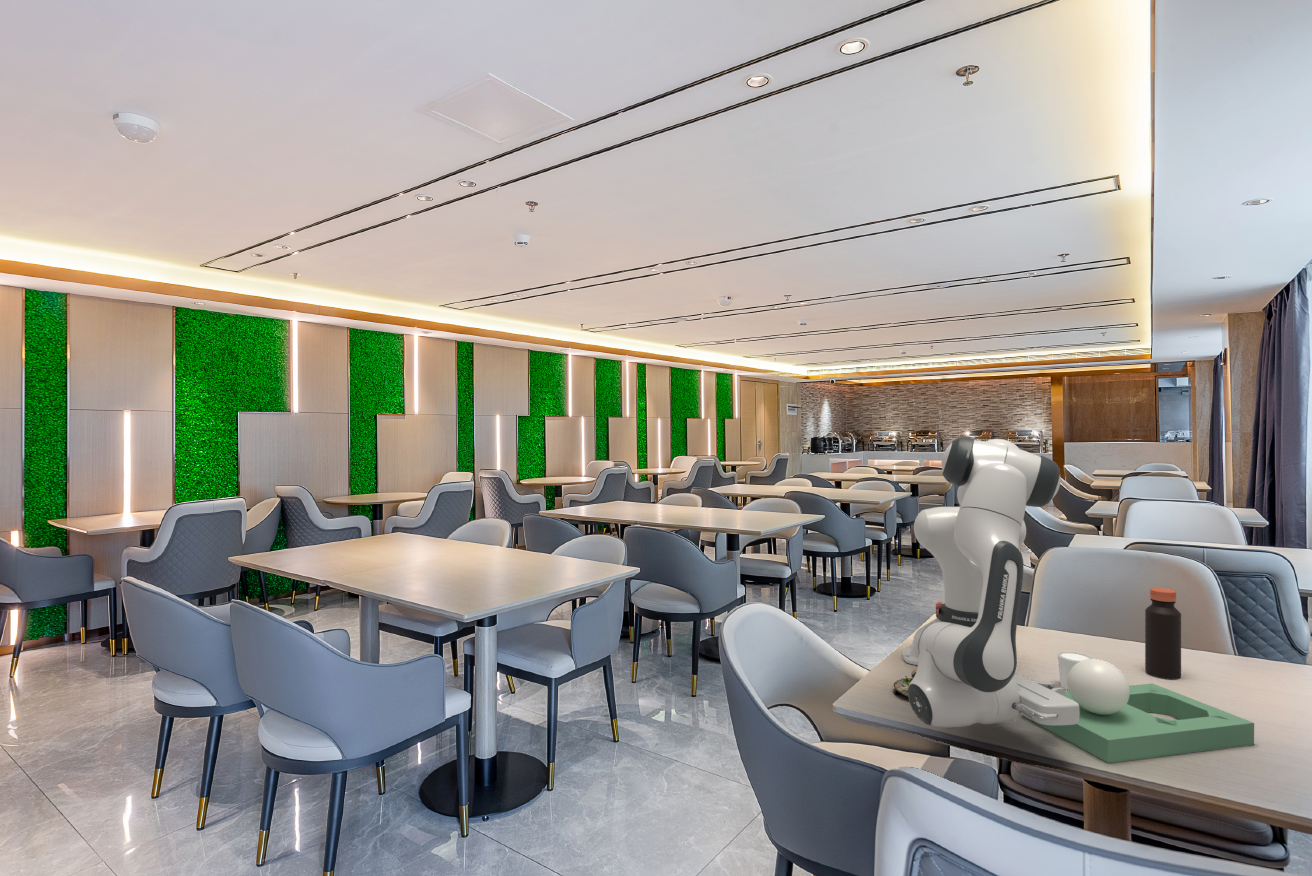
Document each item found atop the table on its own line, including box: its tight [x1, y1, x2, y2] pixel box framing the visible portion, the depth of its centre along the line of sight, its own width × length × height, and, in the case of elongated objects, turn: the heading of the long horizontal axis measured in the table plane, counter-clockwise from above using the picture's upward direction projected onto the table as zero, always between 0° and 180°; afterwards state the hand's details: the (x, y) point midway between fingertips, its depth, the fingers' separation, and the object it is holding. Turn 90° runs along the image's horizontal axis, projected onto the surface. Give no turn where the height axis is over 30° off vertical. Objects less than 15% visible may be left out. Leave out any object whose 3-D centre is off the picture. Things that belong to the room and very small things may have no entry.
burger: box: [893, 667, 917, 697], centre depth 147 cm, size 12×12×8 cm
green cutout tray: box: [1022, 682, 1255, 764], centre depth 130 cm, size 32×20×4 cm, turn 102°
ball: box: [1067, 658, 1130, 715], centre depth 128 cm, size 10×10×10 cm
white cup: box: [1057, 651, 1093, 691], centre depth 151 cm, size 7×7×7 cm
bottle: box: [1144, 587, 1182, 680], centre depth 159 cm, size 7×7×20 cm
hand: (1059, 690), depth 126 cm, fingers closed
